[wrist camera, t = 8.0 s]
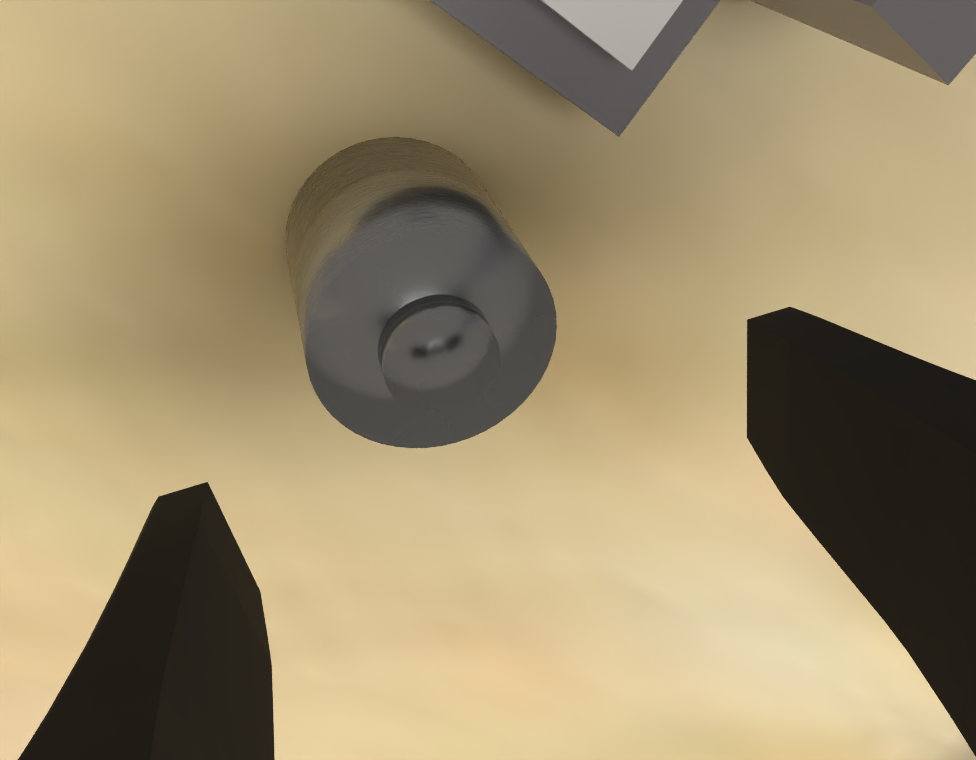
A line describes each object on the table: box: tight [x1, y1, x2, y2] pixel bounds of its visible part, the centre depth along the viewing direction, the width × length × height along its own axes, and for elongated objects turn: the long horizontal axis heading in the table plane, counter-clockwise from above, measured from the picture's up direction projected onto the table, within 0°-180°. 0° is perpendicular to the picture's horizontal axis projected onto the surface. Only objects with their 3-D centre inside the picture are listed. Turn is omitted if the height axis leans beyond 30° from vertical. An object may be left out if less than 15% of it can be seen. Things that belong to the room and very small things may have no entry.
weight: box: [286, 137, 557, 448], centre depth 17 cm, size 4×4×5 cm
